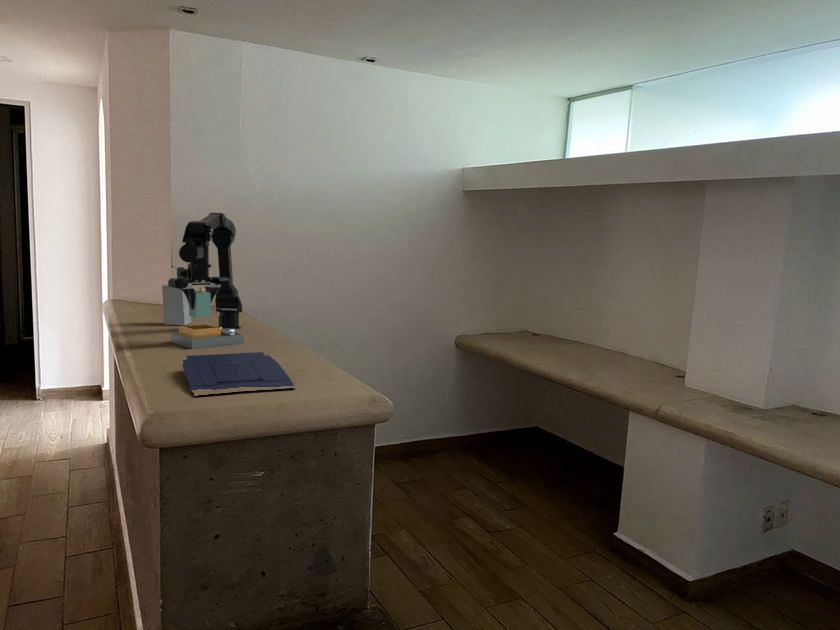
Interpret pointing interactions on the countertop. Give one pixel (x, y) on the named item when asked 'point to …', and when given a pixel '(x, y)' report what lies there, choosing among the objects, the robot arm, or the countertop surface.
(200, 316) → the spout can
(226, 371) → the dark blue book
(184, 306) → the skincare box
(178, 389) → the countertop surface
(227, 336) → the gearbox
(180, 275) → the robot arm
